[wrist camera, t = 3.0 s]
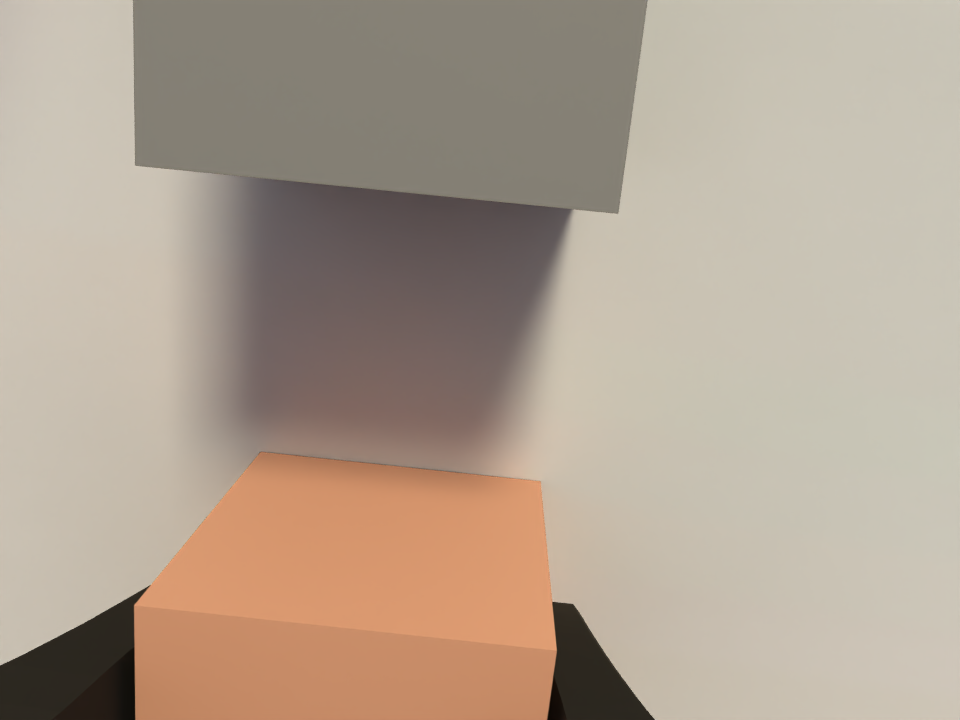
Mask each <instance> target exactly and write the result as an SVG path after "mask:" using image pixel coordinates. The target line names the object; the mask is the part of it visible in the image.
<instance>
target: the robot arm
mask: <svg viewBox="0 0 960 720" xmlns="http://www.w3.org/2000/svg"><path fill="white" fill-rule="evenodd" d="M149 587H150V586H148V587H146V588H145V589H143V590H141V591H140V592H138V593H136V594H134V595H133V596H131V597H129V598H128V599H126V600H124V601H122V602H121V603H119V604H117V605H115V606H113V607H112V608H110V609H108V610H106V611H105V612H103V613H101V614H99V615H98V616H96V617H94V618H92V619H91V620H89V621H87V622H85V623H84V624H82V625H80V626H78V627H76V628H74V629H72V630H70V631H68V632H66V633H64V634H62V635H60V636H58V637H57V638H55V639H53V640H51V641H49V642H47V643H45V644H43V645H41V646H39V647H37V648H35V649H33V650H31V651H29V652H28V653H26V654H24V655H22V656H20V657H17V658H15V659H13V660H11V661H9V662H7V663H5V664H3V665H0V720H135V639H134V605H135V604H136V602H137V601H138V600H139V599H140V598H141V596H142V595H143V594H144V593H145V592H146V590H147V589H148V588H149ZM552 606H553V616H554V627H555V637H556V647H557V653H556V660H555V667H554V674H553V681H552V689H551V696H550V703H549V710H548V717H547V720H655V719H654V718H653V717H652V716H651V715H650V714H649V712H648V711H647V710H646V709H645V707H644V706H643V705H642V704H641V702H640V701H639V700H638V698H637V697H636V696H635V694H634V693H633V692H632V690H631V689H630V688H629V686H628V685H627V684H626V682H625V681H624V680H623V678H622V677H621V675H620V674H619V673H618V671H617V670H616V669H615V667H614V666H613V664H612V663H611V661H610V660H609V658H608V657H607V656H606V654H605V652H604V651H603V649H602V648H601V646H600V645H599V643H598V642H597V640H596V639H595V637H594V636H593V634H592V632H591V631H590V629H589V628H588V626H587V624H586V623H585V621H584V619H583V618H582V616H581V615H580V613H579V611H578V610H577V609H576V608H575V606H574V605H573V604H567V603H558V602H552Z"/></svg>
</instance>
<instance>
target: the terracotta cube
mask: <svg viewBox="0 0 960 720" xmlns="http://www.w3.org/2000/svg"><path fill="white" fill-rule="evenodd" d="M134 639H135V720H547V717H548V710H549V703H550V696H551V689H552V681H553V674H554V667H555V660H556V653H557V647H556V637H555V627H554V616H553V606H552V596H551V585H550V575H549V565H548V554H547V544H546V534H545V523H544V513H543V503H542V492H541V482H540V481H531V480H522V479H513V478H503V477H494V476H484V475H475V474H465V473H456V472H446V471H437V470H427V469H418V468H408V467H399V466H389V465H380V464H370V463H361V462H351V461H342V460H332V459H323V458H314V457H304V456H295V455H285V454H276V453H266V452H260V453H259V455H258V456H257V457H256V458H255V459H254V461H253V462H252V463H251V464H250V465H249V467H248V468H247V469H246V470H245V471H244V473H243V474H242V475H241V476H240V478H239V479H238V480H237V481H236V482H235V484H234V485H233V486H232V487H231V488H230V490H229V491H228V492H227V493H226V495H225V496H224V497H223V498H222V499H221V501H220V502H219V503H218V504H217V505H216V507H215V508H214V509H213V510H212V512H211V513H210V514H209V515H208V516H207V518H206V519H205V520H204V521H203V522H202V524H201V525H200V526H199V527H198V528H197V530H196V531H195V532H194V533H193V535H192V536H191V537H190V538H189V539H188V541H187V542H186V543H185V544H184V545H183V547H182V548H181V549H180V550H179V552H178V553H177V554H176V555H175V556H174V558H173V559H172V560H171V561H170V562H169V564H168V565H167V566H166V567H165V569H164V570H163V571H162V572H161V573H160V575H159V576H158V577H157V578H156V579H155V581H154V582H153V583H152V584H151V585H150V587H149V588H148V589H147V590H146V592H145V593H144V594H143V595H142V596H141V598H140V599H139V600H138V601H137V602H136V604H135V605H134Z"/></svg>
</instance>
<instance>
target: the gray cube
mask: <svg viewBox="0 0 960 720" xmlns="http://www.w3.org/2000/svg"><path fill="white" fill-rule="evenodd" d="M646 8H647V0H133V29H134V113H135V166H144V167H154V168H164V169H174V170H184V171H194V172H204V173H214V174H224V175H234V176H244V177H254V178H264V179H275V180H285V181H295V182H305V183H315V184H325V185H335V186H345V187H355V188H365V189H375V190H385V191H395V192H405V193H415V194H425V195H435V196H445V197H456V198H466V199H476V200H486V201H496V202H506V203H516V204H526V205H536V206H546V207H556V208H566V209H576V210H586V211H596V212H606V213H616V214H618V212H619V204H620V197H621V190H622V183H623V175H624V168H625V161H626V153H627V146H628V139H629V132H630V124H631V117H632V110H633V102H634V95H635V88H636V81H637V73H638V66H639V59H640V51H641V44H642V37H643V30H644V22H645V15H646Z"/></svg>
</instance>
